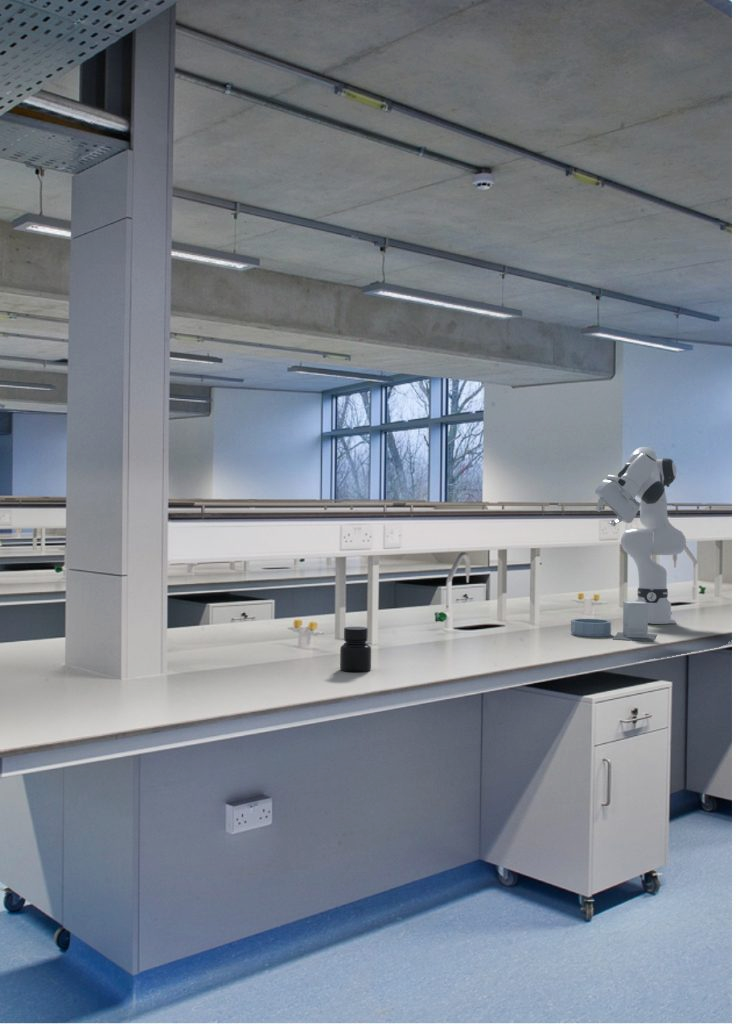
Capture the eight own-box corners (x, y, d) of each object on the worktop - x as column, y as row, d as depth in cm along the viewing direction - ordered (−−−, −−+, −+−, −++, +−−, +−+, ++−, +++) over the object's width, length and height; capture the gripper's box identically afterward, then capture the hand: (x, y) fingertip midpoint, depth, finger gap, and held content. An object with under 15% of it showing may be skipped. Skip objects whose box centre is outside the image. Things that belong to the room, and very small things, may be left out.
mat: (618, 632, 355) (618, 632, 355) (656, 634, 350) (656, 634, 350) (612, 639, 336) (612, 638, 336) (653, 641, 331) (653, 641, 331)
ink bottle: (373, 667, 271) (373, 626, 271) (371, 673, 263) (371, 630, 263) (340, 667, 272) (340, 625, 272) (337, 672, 263) (337, 629, 263)
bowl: (574, 630, 359) (574, 617, 359) (612, 633, 354) (612, 619, 354) (568, 635, 345) (568, 622, 345) (608, 637, 340) (608, 624, 340)
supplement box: (648, 638, 339) (648, 603, 339) (627, 637, 339) (627, 603, 339) (642, 635, 346) (642, 601, 346) (622, 635, 347) (622, 601, 346)
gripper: (636, 504, 365) (615, 532, 364) (605, 472, 357) (584, 500, 356) (646, 507, 359) (625, 535, 358) (615, 474, 351) (594, 503, 350)
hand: (604, 517), depth 357 cm, fingers open, 8 cm apart
